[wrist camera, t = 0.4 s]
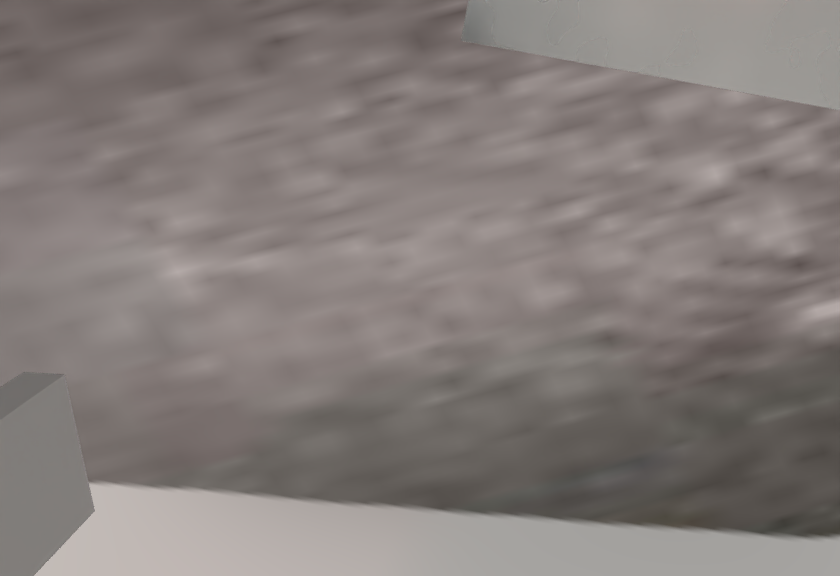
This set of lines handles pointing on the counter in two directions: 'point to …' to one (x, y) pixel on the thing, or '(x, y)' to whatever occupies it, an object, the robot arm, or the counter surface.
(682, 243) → the counter surface
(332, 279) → the counter surface
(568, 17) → the lid
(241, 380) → the counter surface
